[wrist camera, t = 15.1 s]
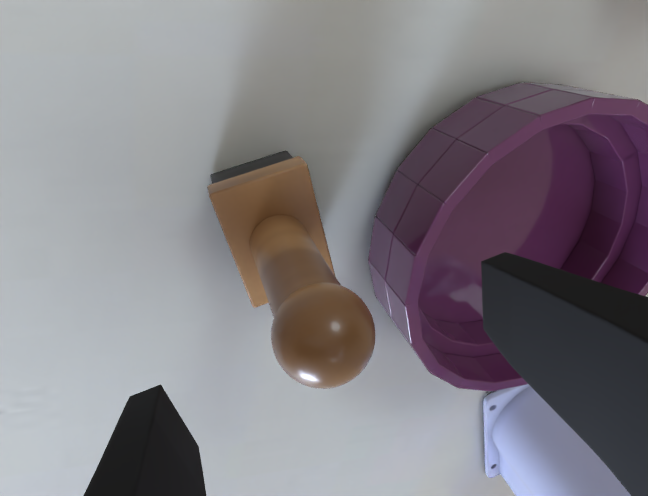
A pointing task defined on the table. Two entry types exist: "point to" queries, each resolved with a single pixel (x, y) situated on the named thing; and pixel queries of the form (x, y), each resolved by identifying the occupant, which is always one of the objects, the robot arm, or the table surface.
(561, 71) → the table surface
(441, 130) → the bowl
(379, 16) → the table surface
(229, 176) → the rubber stamp
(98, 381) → the table surface
